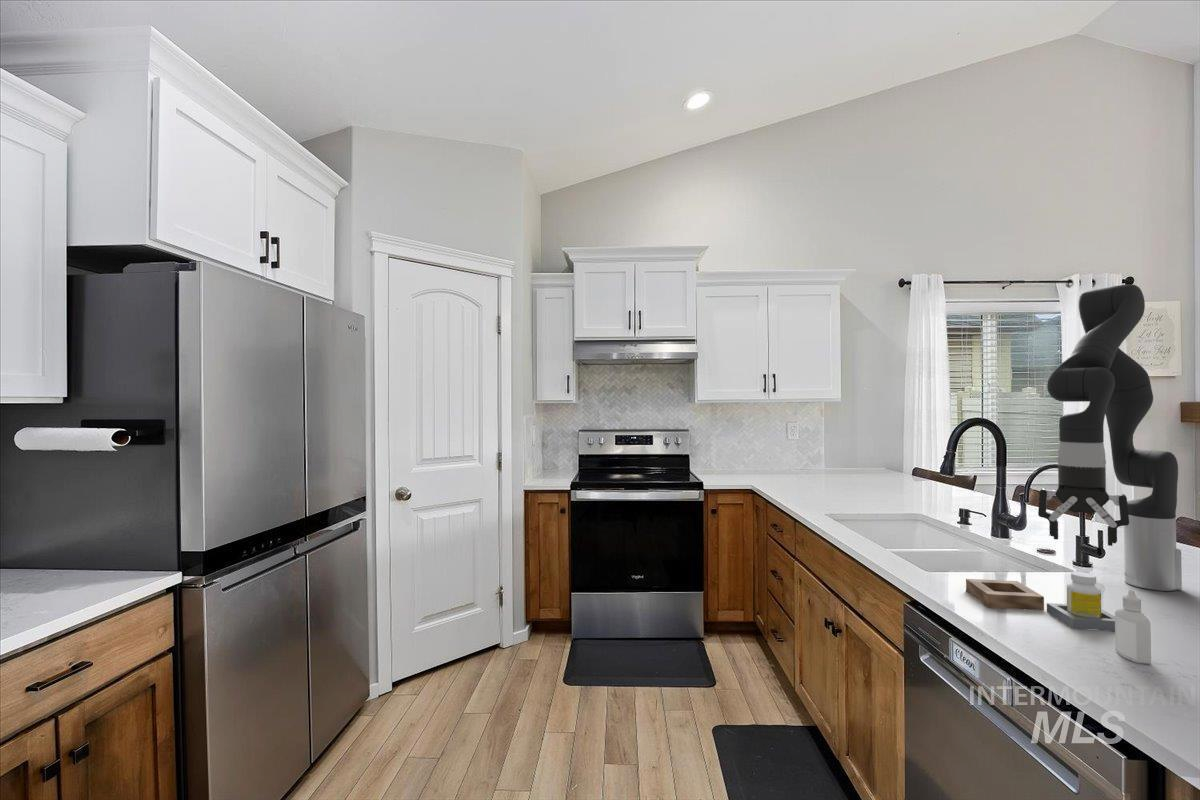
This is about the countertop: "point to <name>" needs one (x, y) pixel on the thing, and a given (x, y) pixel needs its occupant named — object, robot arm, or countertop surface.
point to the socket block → (1004, 594)
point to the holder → (1081, 618)
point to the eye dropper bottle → (1132, 631)
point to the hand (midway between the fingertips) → (1082, 541)
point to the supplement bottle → (1083, 596)
